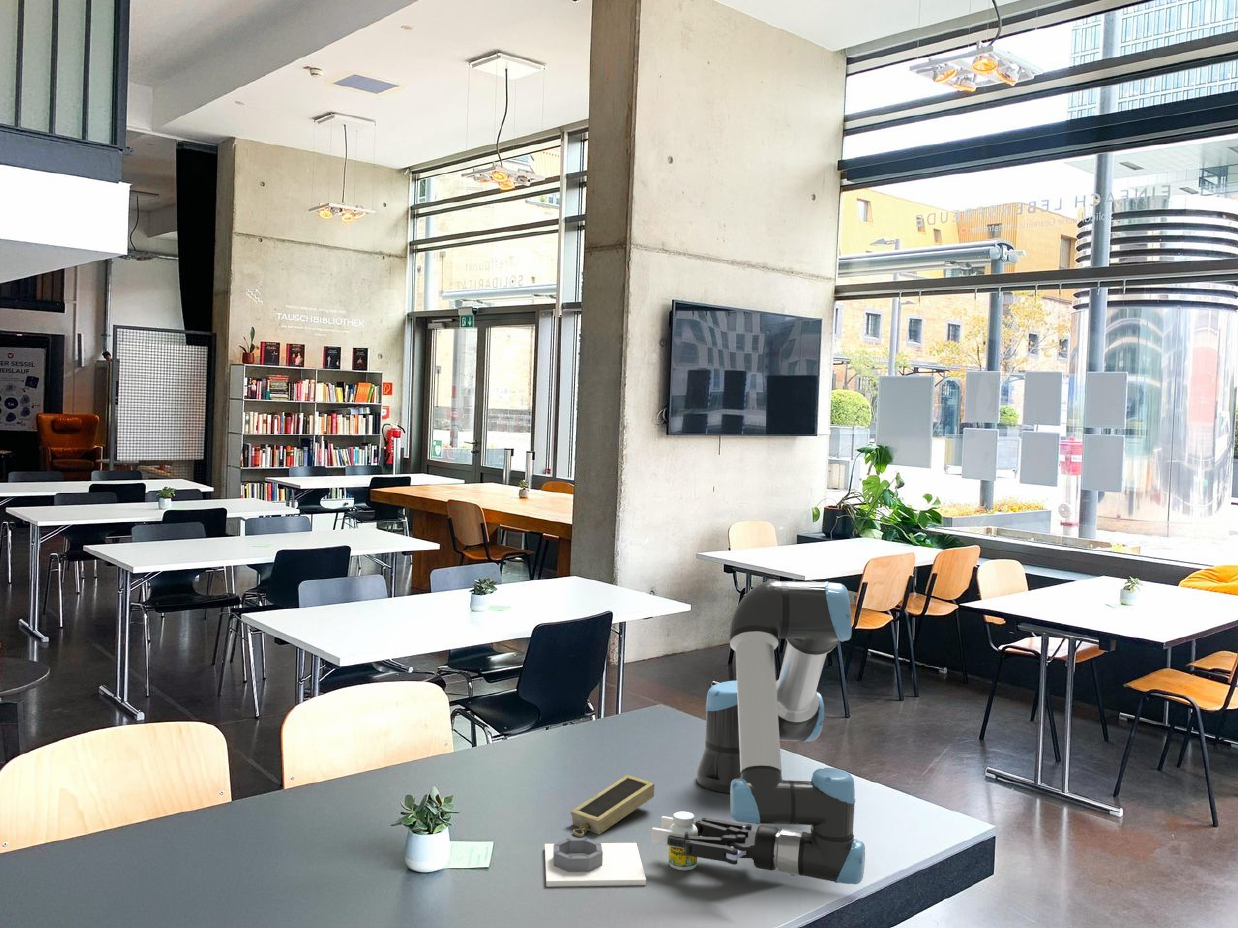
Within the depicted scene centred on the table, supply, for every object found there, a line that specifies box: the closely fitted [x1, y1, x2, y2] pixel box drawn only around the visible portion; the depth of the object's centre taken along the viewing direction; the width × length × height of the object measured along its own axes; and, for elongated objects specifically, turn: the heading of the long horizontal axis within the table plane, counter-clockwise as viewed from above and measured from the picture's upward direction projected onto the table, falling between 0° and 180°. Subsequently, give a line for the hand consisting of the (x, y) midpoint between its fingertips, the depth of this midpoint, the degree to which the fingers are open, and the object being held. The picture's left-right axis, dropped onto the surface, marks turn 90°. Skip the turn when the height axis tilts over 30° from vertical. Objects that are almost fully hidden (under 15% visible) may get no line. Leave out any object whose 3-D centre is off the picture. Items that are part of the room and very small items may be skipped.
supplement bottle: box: [668, 811, 698, 871], centre depth 187 cm, size 5×5×10 cm
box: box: [570, 774, 655, 838], centre depth 208 cm, size 8×22×5 cm, turn 141°
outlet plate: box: [544, 837, 647, 888], centre depth 185 cm, size 18×16×4 cm
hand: (657, 829), depth 188 cm, fingers closed on supplement bottle, 5 cm apart
